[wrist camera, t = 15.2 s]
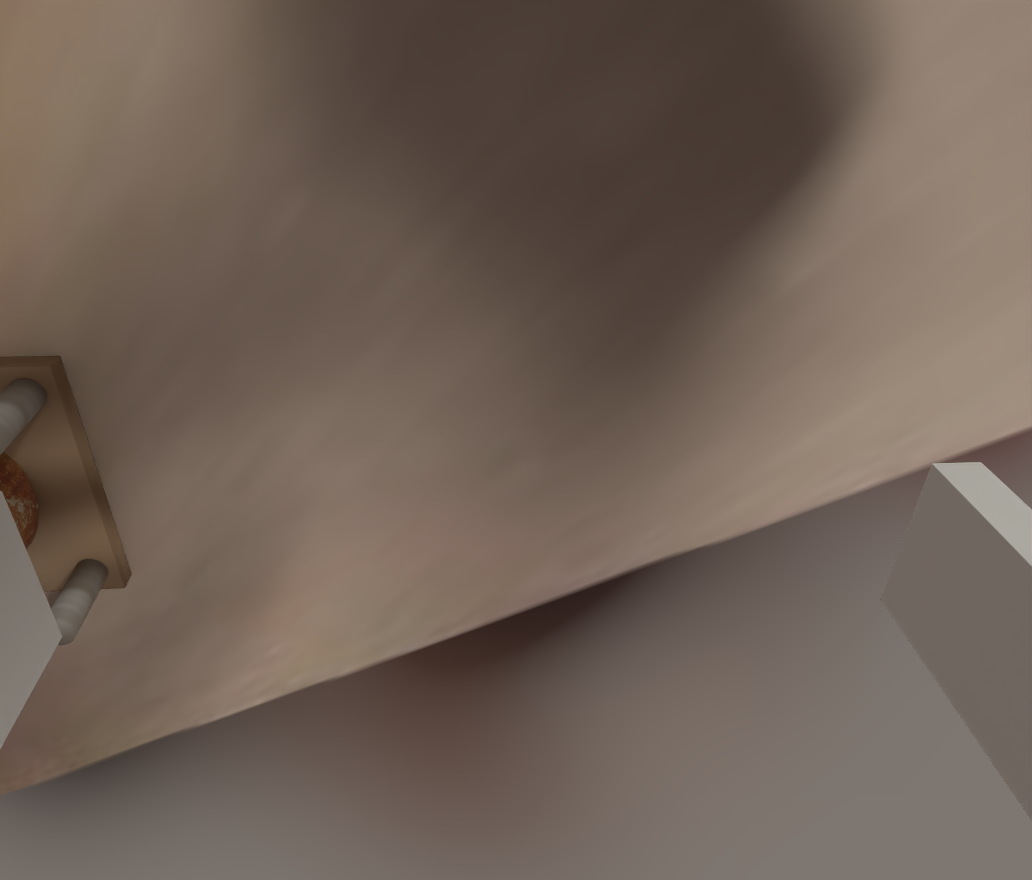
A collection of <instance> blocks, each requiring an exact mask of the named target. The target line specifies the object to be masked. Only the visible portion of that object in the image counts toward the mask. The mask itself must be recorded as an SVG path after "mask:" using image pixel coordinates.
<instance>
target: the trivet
mask: <svg viewBox="0 0 1032 880" xmlns="http://www.w3.org/2000/svg"><path fill="white" fill-rule="evenodd" d="M3 452H4V453H5V454H7V455H8V456H9V457H10V458H11V459H13V460H14V461H16V462H17V463H18V464H19V466H20V467H21V468H22V470H23V471H24V473H25V474H26V476H27V477H28V478H29V480H30V482H31V484H32V487H33V489H34V491H35V494H36V497H37V501H38V508H39V520H38V528H37V532H36V534H35V537H34V539H33V541H32V543H31V544H30V546H29V547H28V549H27V553H28V555H29V558H30V560H31V562H32V565H33V567H34V570H35V572H36V574H37V577H38V579H39V582H40V584H41V586H42V589H43V591H61V592H60V594H59V595H58V597H57V599H56V600H55V602H54V604H53V605H52V607H51V610H52V613H53V615H54V618H55V620H56V623H57V625H58V627H59V630H60V632H61V635H62V638H61V640H60V642H59V644H58V645H65V644H68V643H70V642H72V641H73V640H74V638H75V636H76V634H77V633H78V631H79V629H80V627H81V625H82V623H83V621H84V619H85V618H86V616H87V614H88V612H89V610H90V608H91V606H92V604H93V603H94V601H95V599H96V597H97V595H98V593H99V591H100V589H111V588H125V587H126V585H127V583H128V580H129V578H130V576H131V571H130V568H129V565H128V562H127V559H126V556H125V553H124V550H123V547H122V544H121V541H120V538H119V535H118V532H117V529H116V526H115V522H114V519H113V516H112V513H111V510H110V507H109V504H108V501H107V498H106V495H105V492H104V489H103V486H102V483H101V480H100V477H99V474H98V470H97V467H96V464H95V461H94V458H93V455H92V452H91V449H90V446H89V443H88V440H87V437H86V434H85V431H84V428H83V425H82V422H81V418H80V415H79V412H78V409H77V406H76V403H75V400H74V397H73V394H72V391H71V388H70V385H69V382H68V379H67V376H66V373H65V369H64V366H63V363H62V360H61V357H60V356H30V357H0V455H1V454H2V453H3Z"/></svg>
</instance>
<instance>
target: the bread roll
mask: <svg viewBox="0 0 1032 880" xmlns="http://www.w3.org/2000/svg"><path fill="white" fill-rule="evenodd" d="M0 491H2V493H3V495H4V497H5V500H6V502H7V505H8V507H9V509H10V512H11V514H12V517H13V519H14V521H15V524H16V526H17V529H18V531H19V533H20V536H21V538H22V541H23V543H24V545H25V548H26V550H27V549H28V547H29V546H30V544H31V543H32V541H33V539H34V537H35V534H36V532H37V528H38V520H39V508H38V501H37V497H36V494H35V491H34V489H33V487H32V484H31V482H30V480H29V478H28V477H27V476H26V474H25V473H24V471H23V470H22V468H21V467H20V466H19V464H18V463H17V462H16V461H14V460H13V459H11V458H10V457H9V456H8V455H7V454H5V453H4V452H3V453H2V454H1V455H0Z"/></svg>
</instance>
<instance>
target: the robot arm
mask: <svg viewBox="0 0 1032 880" xmlns="http://www.w3.org/2000/svg"><path fill="white" fill-rule="evenodd" d="M881 601H882V603H883V604H884V606H885V607H886V609H887V610H888V612H889V613H890V614H891V616H892V617H893V619H894V620H895V622H896V623H897V625H898V626H899V627H900V629H901V630H902V632H903V633H904V635H905V636H906V638H907V639H908V641H909V642H910V644H911V645H912V646H913V648H914V649H915V651H916V652H917V654H918V655H919V657H920V658H921V660H922V661H923V663H924V664H925V665H926V667H927V668H928V670H929V671H930V673H931V674H932V676H933V677H934V679H935V680H936V681H937V683H938V684H939V686H940V687H941V689H942V690H943V692H944V693H945V694H946V696H947V697H948V699H949V700H950V702H951V703H952V705H953V706H954V708H955V709H956V711H957V712H958V713H959V715H960V716H961V718H962V719H963V721H964V722H965V724H966V725H967V727H968V728H969V730H970V731H971V733H972V734H973V735H974V737H975V738H976V740H977V741H978V743H979V744H980V746H981V747H982V749H983V750H984V752H985V753H986V754H987V756H988V757H989V759H990V760H991V762H992V763H993V765H994V766H995V768H996V769H997V770H998V772H999V773H1000V775H1001V776H1002V778H1003V779H1004V781H1005V782H1006V784H1007V785H1008V787H1009V788H1010V789H1011V791H1012V792H1013V794H1014V795H1015V797H1016V798H1017V800H1018V801H1019V803H1020V804H1021V805H1022V807H1023V809H1024V810H1025V811H1026V813H1027V814H1028V816H1029V817H1030V819H1031V820H1032V510H1031V509H1030V508H1029V507H1028V506H1027V505H1026V504H1025V503H1024V502H1023V501H1022V500H1021V499H1020V498H1019V497H1017V496H1016V495H1015V494H1014V493H1013V492H1012V491H1011V490H1010V489H1009V488H1008V487H1007V486H1006V485H1005V484H1004V483H1002V482H1001V481H1000V480H999V479H998V478H997V477H996V476H995V475H994V474H993V473H992V472H991V471H990V470H988V469H987V468H986V467H985V466H984V465H983V464H982V463H981V462H972V463H938V464H932V466H931V468H930V471H929V474H928V476H927V479H926V481H925V484H924V487H923V489H922V492H921V494H920V497H919V500H918V502H917V505H916V508H915V510H914V513H913V515H912V518H911V521H910V524H909V526H908V529H907V531H906V534H905V537H904V539H903V542H902V544H901V547H900V550H899V552H898V555H897V558H896V560H895V563H894V565H893V568H892V571H891V573H890V576H889V578H888V581H887V584H886V586H885V589H884V592H883V594H882V597H881ZM61 638H62V635H61V632H60V630H59V627H58V625H57V623H56V620H55V618H54V615H53V613H52V610H51V608H50V606H49V603H48V601H47V598H46V596H45V594H44V591H43V589H42V586H41V584H40V582H39V579H38V577H37V574H36V572H35V570H34V567H33V565H32V562H31V560H30V558H29V555H28V553H27V550H26V548H25V545H24V543H23V541H22V538H21V536H20V533H19V531H18V529H17V526H16V524H15V521H14V519H13V517H12V514H11V512H10V509H9V507H8V505H7V502H6V500H5V497H4V495H3V493H2V491H0V749H1V747H2V745H3V743H4V741H5V740H6V738H7V736H8V734H9V732H10V730H11V729H12V727H13V725H14V723H15V721H16V720H17V718H18V716H19V714H20V712H21V711H22V709H23V707H24V705H25V703H26V702H27V700H28V698H29V696H30V694H31V692H32V691H33V689H34V687H35V685H36V683H37V682H38V680H39V678H40V676H41V674H42V673H43V671H44V669H45V667H46V665H47V663H48V662H49V660H50V658H51V656H52V654H53V653H54V651H55V649H56V647H57V645H58V644H59V642H60V640H61Z"/></svg>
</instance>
